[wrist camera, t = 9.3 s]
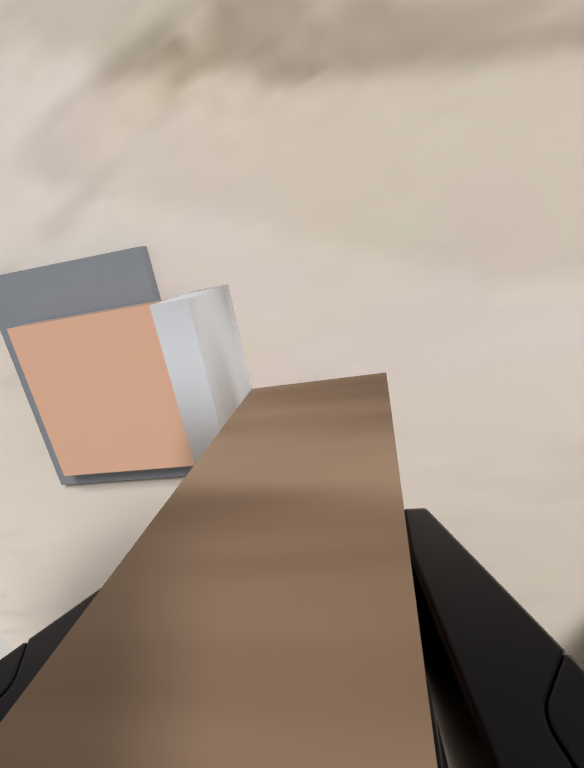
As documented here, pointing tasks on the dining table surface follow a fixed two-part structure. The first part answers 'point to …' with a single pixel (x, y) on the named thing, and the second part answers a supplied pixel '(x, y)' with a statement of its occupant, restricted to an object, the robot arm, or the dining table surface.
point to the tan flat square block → (103, 391)
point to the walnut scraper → (248, 589)
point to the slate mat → (72, 297)
